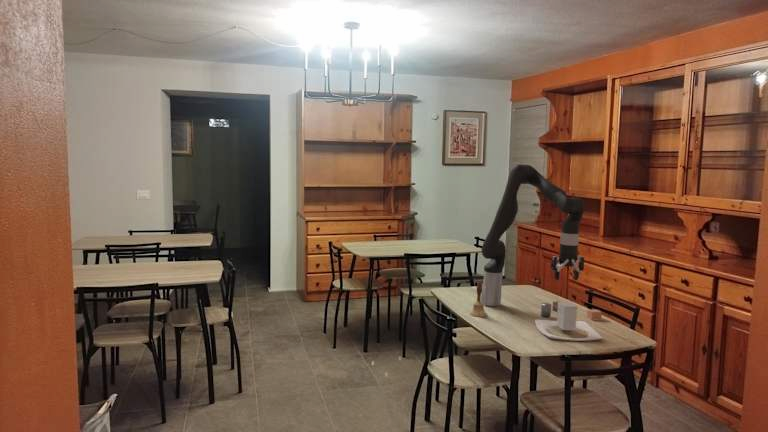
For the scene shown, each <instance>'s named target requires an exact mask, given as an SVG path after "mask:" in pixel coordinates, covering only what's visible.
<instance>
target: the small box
mask: <svg viewBox="0 0 768 432" xmlns="http://www.w3.org/2000/svg"><path fill="white" fill-rule="evenodd" d="M577 309H578V308H577V306H576V304H573V302H571V301H561V302H558V311H557V312H556V315H557V316H556V321H557V325H558V326H557V327H559V328H560V329H561V330H563V331H576V329H577V328H576V321H577V313H578V312H577Z"/></svg>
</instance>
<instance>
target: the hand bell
mask: <svg viewBox="0 0 768 432" xmlns="http://www.w3.org/2000/svg"><path fill="white" fill-rule="evenodd" d="M482 285H483V284H482V281H478V282H477V285H476V295H477V296H476V302H474V303H473V305H472V306H473V307H472V310H471V311H469V316H472V317H476V318H485V317H487V316H488V313H487V312H486V311H485V308H484V304H483V303H481V295H482Z"/></svg>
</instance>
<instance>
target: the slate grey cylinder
mask: <svg viewBox="0 0 768 432" xmlns="http://www.w3.org/2000/svg"><path fill="white" fill-rule="evenodd" d="M551 315H552V304H551V303H548V302H542V303H541V312H540V317H541V318H545V319H548V318H549V319H550V318H551V317H552V316H551Z"/></svg>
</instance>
